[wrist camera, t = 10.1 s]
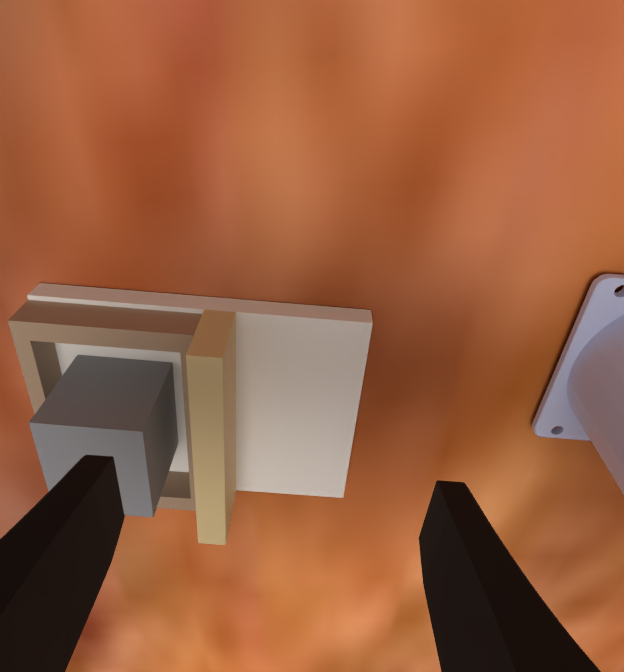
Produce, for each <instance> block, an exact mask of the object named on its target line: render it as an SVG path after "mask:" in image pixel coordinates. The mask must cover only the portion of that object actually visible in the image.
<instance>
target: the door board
mask: <svg viewBox="0 0 624 672" xmlns="http://www.w3.org/2000/svg"><path fill="white" fill-rule="evenodd" d="M27 296H28V301H27V302H26V303H25V304H24V305H23V306H22V307H21V308H20V309H19V310H18V311H17V312H16V313H15V314H14V315H13V316H12V317H11V318H10V319H9V320H8V323H9V327H10V330H11V334H12V337H13V341H14V344H15V348H16V351H17V355H18V358H19V362H20V365H21V369H22V372H23V376H24V379H25V383H26V386H27V390H28V393H29V397H30V400H31V404H32V407H33V411H34V414H35V413H36V412H37V411H38V409H39V408H40V406H41V405H42V404H43V402H44V401H45V399H46V398H47V397H48V395H49V394H50V392H51V391H52V390H53V388H54V387H55V385H56V384H57V383H58V381H59V380H60V378H61V377H62V376H63V374H64V373H65V371H66V370H67V369H68V367H69V366H70V364H71V363H72V362H73V360H74V359H75V357H76V356H77V355H90V356H102V357H114V358H126V359H137V360H149V361H161V362H172V363H173V377H174V390H175V403H176V417H177V430H178V446H177V449H176V452H175V455H174V458H173V461H172V463H171V466H170V469H169V472H168V475H167V478H166V481H165V484H164V487H163V490H162V493H161V496H160V499H159V502H158V505H157V508H165V509H179V510H193V511H196V517H197V532H198V543H204V544H219V545H226V542H227V536H228V531H229V526H230V520H231V515H232V509H233V504H234V499H235V493H236V490H242V491H256V492H270V493H284V494H297V495H311V496H325V497H339V498H343V495H344V489H345V483H346V477H347V472H348V466H349V460H350V454H351V448H352V442H353V436H354V431H355V425H356V419H357V413H358V407H359V401H360V395H361V390H362V384H363V378H364V372H365V366H366V360H367V354H368V349H369V343H370V337H371V331H372V325H373V321H372V314H371V310H365V309H353V308H340V307H328V306H316V305H304V304H292V303H279V302H267V301H255V300H243V299H230V298H218V297H206V296H194V295H182V294H169V293H157V292H145V291H133V290H120V289H108V288H96V287H84V286H72V285H59V284H47V283H39V284H38V285H37V286H36V287H35V288H34V289H33V290H32V291H31V292H30V293H29V294H28V295H27Z"/></svg>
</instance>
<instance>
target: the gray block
mask: <svg viewBox="0 0 624 672" xmlns="http://www.w3.org/2000/svg"><path fill="white" fill-rule="evenodd" d="M29 425H30V428H31V431H32V435H33V438H34V442H35V445H36V449H37V452H38V456H39V459H40V463H41V466H42V470H43V473H44V477H45V480H46V484H47V487H48V491H50V490H51V489H52V488H53V487H54V486H55V485H56V484H57V483H58V482H59V481H60V480H61V479H62V478H63V477H64V476H65V474H66V473H67V472H68V471H69V470H70V469H71V468H72V467H73V466H74V465H75V464H76V463H77V462H78V461H79V460H80V459H81V458H82V457H83V456H85V455H99V456H113V457H114V462H115V467H116V473H117V478H118V483H119V489H120V494H121V500H122V505H123V510H124V515H130V516H143V517H154V514H155V511H156V508H157V505H158V502H159V499H160V496H161V493H162V490H163V487H164V484H165V481H166V478H167V475H168V472H169V469H170V466H171V463H172V461H173V458H174V455H175V452H176V449H177V446H178V430H177V417H176V403H175V390H174V377H173V363H172V362H161V361H149V360H137V359H126V358H114V357H102V356H90V355H77V356H76V357H75V359H74V360H73V362H72V363H71V364H70V366H69V367H68V369H67V370H66V371H65V373H64V374H63V376H62V377H61V378H60V380H59V381H58V383H57V384H56V385H55V387H54V388H53V390H52V391H51V392H50V394H49V395H48V397H47V398H46V399H45V401H44V402H43V404H42V405H41V406H40V408H39V409H38V411H37V412H36V413H35V415H34V416H33V418H32V419H31V420H30V422H29Z"/></svg>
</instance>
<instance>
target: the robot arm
mask: <svg viewBox="0 0 624 672" xmlns="http://www.w3.org/2000/svg"><path fill="white" fill-rule="evenodd" d="M620 285H624V275H619V274H603V275H601V276H598V277H597V278H596V279H595V280H594V281H593V282H592V284H591V286H590V288H589V291H588V293H587V295H586V298H585V300H584V302H583V305H582V307H581V310H580V312H579V314H578V317H577V319H576V321H575V324H574V326H573V328H572V331H571V333H570V336H569V338H568V340H567V343H566V345H565V347H564V350H563V352H562V354H561V357H560V359H559V362H558V364H557V366H556V369H555V371H554V373H553V376H552V378H551V380H550V383H549V385H548V387H547V390H546V392H545V395H544V397H543V399H542V402H541V404H540V406H539V409H538V411H537V413H536V416H535V418H534V421H533V423H532V428H533V430H534V432H535V434H536V435H537V436H540V437H548V438H561V439H574V440H588V441H591V442H592V444H593V446H594V447H595V449H596V451H597V452H598V454H599V456H600V457H601V459H602V460H603V462H604V464H605V465H606V467H607V469H608V470H609V472H610V474H611V475H612V477H613V479H614V480H615V482H616V484H617V485H618V487H619V488H620V490H621V492H622V493H623V495H624V287H623V288H622V290H620V291H618V292H614V291H615V289H616V288H617V287H619V286H620ZM556 426H558V427H557V428H554V427H556ZM552 428H553V429H552ZM124 517H125V516H124V510H123V505H122V500H121V494H120V489H119V483H118V478H117V473H116V467H115V462H114V457H113V456H99V455H85V456H83V457H82V458H81V459H80V460H79V461H78V462H77V463H76V464H75V465H74V466H73V467H72V468H71V469H70V470H69V471H68V472H67V473H66V474H65V476H64V477H63V478H62V479H61V480H60V481H59V482H58V483H57V484H56V485H55V486H54V487H53V488H52V489H51V490H50V491H49V492H48V493H47V494H46V495H45V496H44V497H43V498H42V499H41V500H40V501H39V502H38V503H37V504H36V505H35V506H34V507H33V508H32V509H31V510H30V511H29V512H28V513H27V514H26V515H25V516H24V517H23V518H22V519H21V520H20V521H19V522H18V523H17V524H16V525H15V526H14V527H13V528H11V529H10V530H9V531H8V532H7V533H6V534H5V535H4V536H3V537H2V538H1V539H0V672H65V671H66V668H67V666H68V663H69V661H70V659H71V656H72V654H73V652H74V649H75V647H76V645H77V642H78V640H79V638H80V635H81V633H82V630H83V628H84V626H85V623H86V621H87V619H88V616H89V614H90V612H91V609H92V607H93V605H94V602H95V600H96V598H97V595H98V593H99V590H100V588H101V586H102V583H103V581H104V579H105V576H106V574H107V571H108V569H109V566H110V564H111V561H112V558H113V555H114V551H115V548H116V545H117V542H118V538H119V535H120V531H121V528H122V524H123V521H124ZM419 543H420V554H421V565H422V575H423V584H424V589H425V594H426V599H427V604H428V609H429V614H430V619H431V623H432V628H433V633H434V638H435V642H436V647H437V652H438V657H439V661H440V666H441V671H442V672H601V671H600V670H599V669H598V668H597V667H596V666H595V664H594V663H593V662H592V661H591V660H590V659H589V657H588V656H587V655H586V654H585V653H584V652H583V650H582V649H581V648H580V647H579V646H578V644H577V643H576V642H575V641H574V639H573V638H572V637H571V636H570V635H569V633H568V632H567V631H566V629H565V628H564V627H563V626H562V624H561V623H560V622H559V621H558V619H557V618H556V617H555V615H554V614H553V613H552V611H551V610H550V609H549V608H548V606H547V605H546V604H545V602H544V601H543V600H542V598H541V597H540V596H539V594H538V593H537V591H536V590H535V589H534V587H533V586H532V585H531V583H530V582H529V580H528V579H527V578H526V576H525V575H524V573H523V572H522V570H521V569H520V567H519V566H518V565H517V563H516V562H515V560H514V559H513V557H512V556H511V555H510V553H509V552H508V550H507V549H506V547H505V546H504V544H503V543H502V541H501V540H500V538H499V536H498V535H497V533H496V532H495V530H494V529H493V527H492V526H491V524H490V522H489V521H488V519H487V518H486V516H485V515H484V513H483V511H482V510H481V508H480V506H479V505H478V503H477V502H476V500H475V498H474V497H473V495H472V493H471V492H470V490H469V488H468V487H467V486H466V484H465V483H464V482H451V481H437V482H436V485H435V488H434V491H433V494H432V498H431V501H430V504H429V507H428V510H427V514H426V517H425V520H424V523H423V526H422V530H421V533H420V536H419Z"/></svg>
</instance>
